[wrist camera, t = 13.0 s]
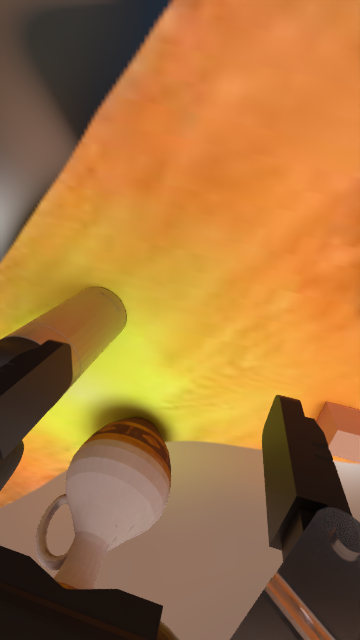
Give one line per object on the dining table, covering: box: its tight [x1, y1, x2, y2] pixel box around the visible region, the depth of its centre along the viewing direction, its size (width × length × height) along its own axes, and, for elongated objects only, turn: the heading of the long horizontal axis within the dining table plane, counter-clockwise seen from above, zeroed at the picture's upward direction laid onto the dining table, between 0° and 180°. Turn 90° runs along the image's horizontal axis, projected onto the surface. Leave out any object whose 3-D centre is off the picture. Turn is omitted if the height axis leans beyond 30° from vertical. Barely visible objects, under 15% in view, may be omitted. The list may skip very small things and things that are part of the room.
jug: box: [35, 417, 171, 589], centre depth 43 cm, size 20×18×30 cm
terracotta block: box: [316, 402, 360, 463], centre depth 42 cm, size 5×5×6 cm
